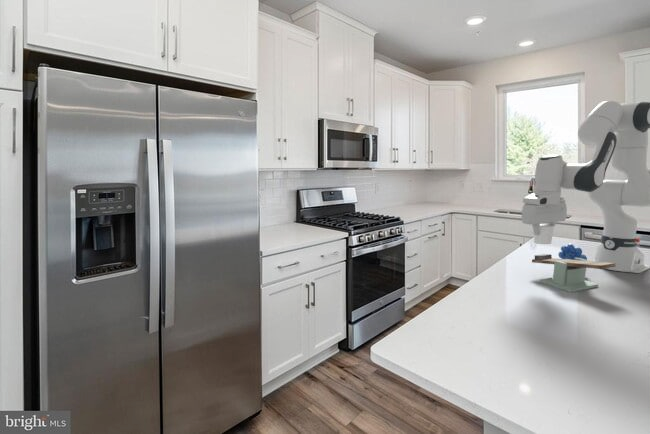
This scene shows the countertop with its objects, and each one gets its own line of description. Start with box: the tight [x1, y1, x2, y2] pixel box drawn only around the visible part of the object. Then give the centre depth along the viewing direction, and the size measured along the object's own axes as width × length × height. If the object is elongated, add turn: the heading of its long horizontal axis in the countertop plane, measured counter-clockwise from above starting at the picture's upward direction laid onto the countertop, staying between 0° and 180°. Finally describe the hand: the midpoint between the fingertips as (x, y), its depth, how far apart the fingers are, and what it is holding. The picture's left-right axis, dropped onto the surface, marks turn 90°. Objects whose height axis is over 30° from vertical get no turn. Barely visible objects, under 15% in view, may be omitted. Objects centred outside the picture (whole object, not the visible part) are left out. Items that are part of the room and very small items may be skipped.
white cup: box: [532, 223, 555, 245], centre depth 137 cm, size 7×7×7 cm
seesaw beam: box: [531, 253, 616, 270], centre depth 136 cm, size 26×10×4 cm, turn 22°
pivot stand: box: [539, 258, 599, 293], centre depth 137 cm, size 16×12×10 cm
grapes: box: [557, 243, 588, 261], centre depth 152 cm, size 12×7×12 cm, turn 25°
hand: (543, 234), depth 137 cm, fingers closed on white cup, 5 cm apart
